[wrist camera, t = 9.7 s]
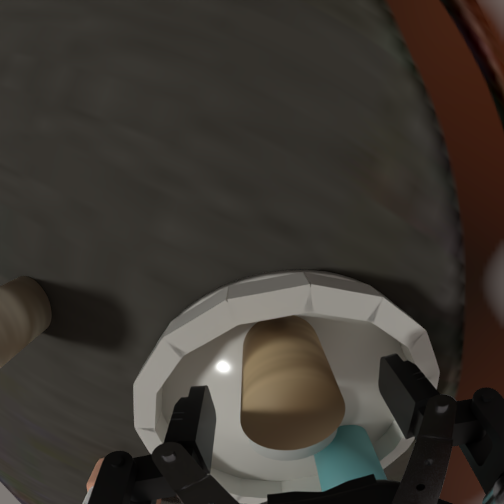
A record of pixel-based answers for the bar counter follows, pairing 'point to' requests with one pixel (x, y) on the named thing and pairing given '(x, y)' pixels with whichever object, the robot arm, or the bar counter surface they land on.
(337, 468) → the bead teal
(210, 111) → the bar counter surface
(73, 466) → the bar counter surface
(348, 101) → the bar counter surface
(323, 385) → the bead oak
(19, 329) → the bead maple
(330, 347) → the tray
